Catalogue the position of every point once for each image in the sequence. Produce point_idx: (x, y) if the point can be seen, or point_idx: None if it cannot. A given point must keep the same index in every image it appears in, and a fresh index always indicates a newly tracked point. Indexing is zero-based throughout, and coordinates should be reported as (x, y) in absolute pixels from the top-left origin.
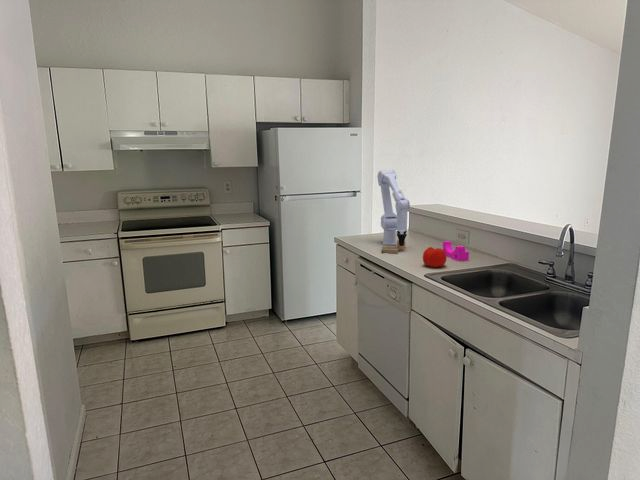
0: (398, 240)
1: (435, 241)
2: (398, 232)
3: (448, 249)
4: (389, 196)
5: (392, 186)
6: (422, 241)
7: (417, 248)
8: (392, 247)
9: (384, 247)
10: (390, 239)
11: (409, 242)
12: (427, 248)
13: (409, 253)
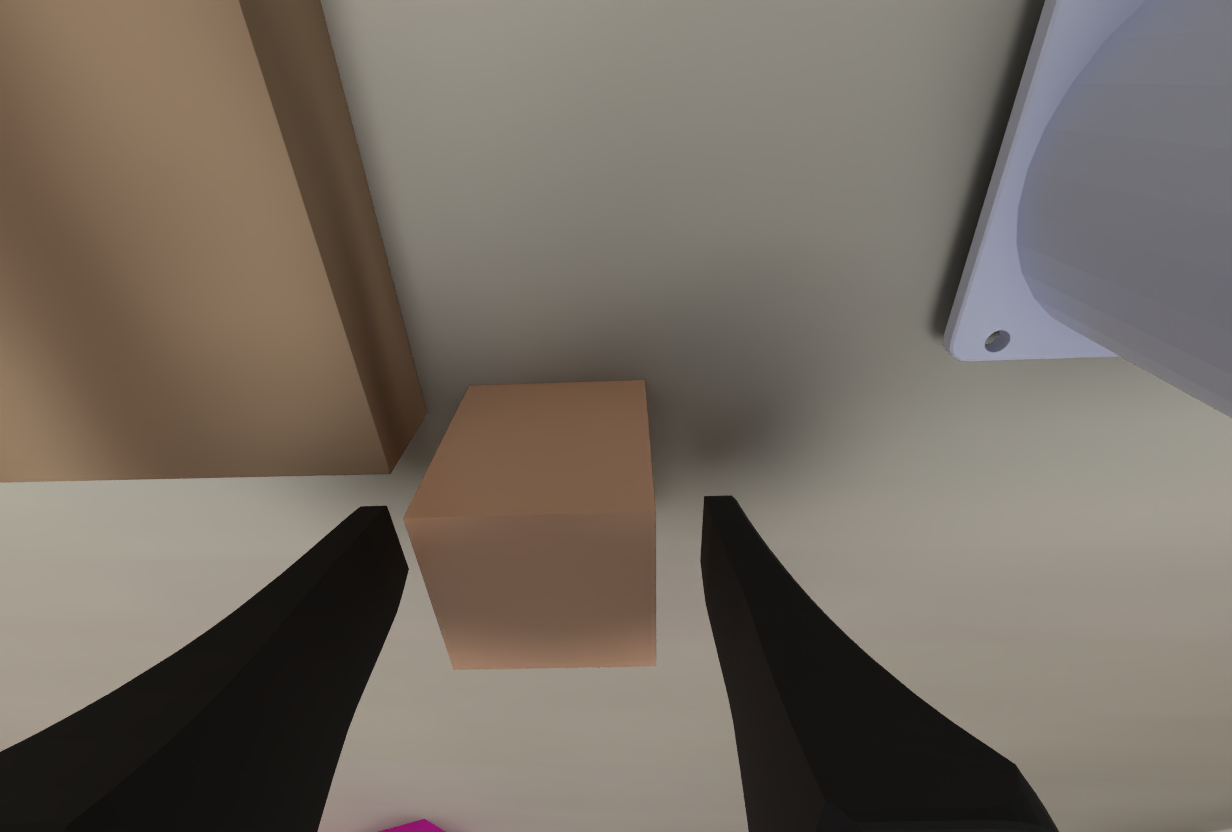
0: (633, 536)
1: (1148, 800)
2: (805, 804)
3: None
4: None
5: None
6: (1217, 705)
7: (703, 656)
8: (182, 338)
9: (12, 64)
10: (1135, 240)
11: (1222, 564)
12: None
13: None
